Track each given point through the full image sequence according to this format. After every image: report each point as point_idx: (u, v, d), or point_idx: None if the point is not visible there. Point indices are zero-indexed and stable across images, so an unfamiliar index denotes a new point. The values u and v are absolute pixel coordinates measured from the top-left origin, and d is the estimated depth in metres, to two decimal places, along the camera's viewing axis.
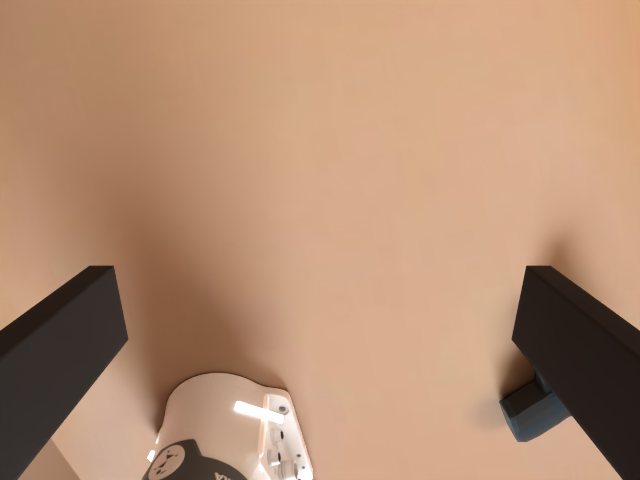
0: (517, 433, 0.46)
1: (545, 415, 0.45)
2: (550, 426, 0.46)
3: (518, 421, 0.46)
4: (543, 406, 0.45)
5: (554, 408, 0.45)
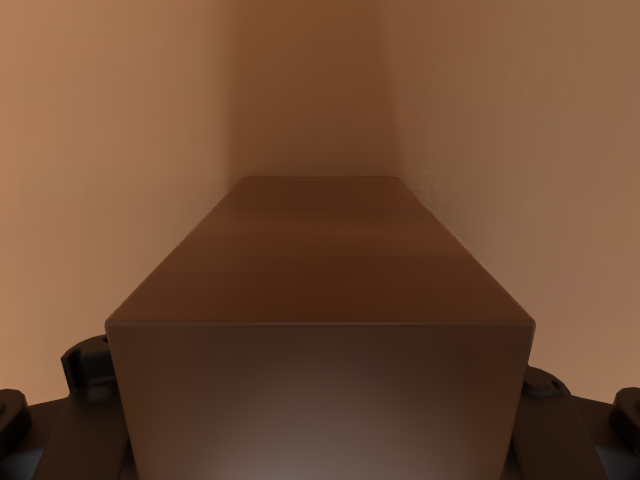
0: None
1: None
2: None
3: None
4: None
5: None
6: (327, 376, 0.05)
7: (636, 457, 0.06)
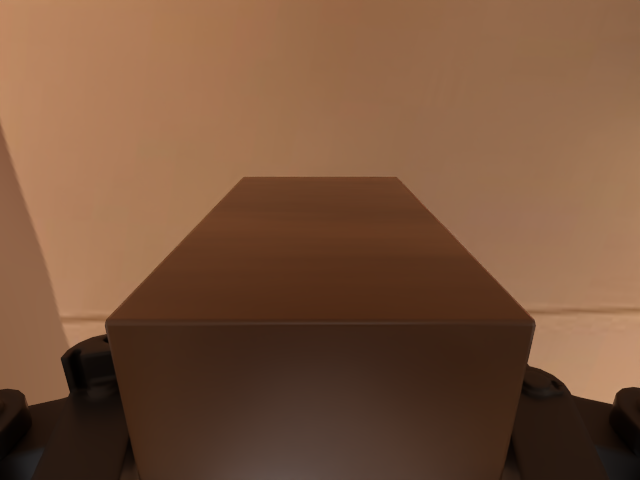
0: None
1: None
2: None
3: None
4: None
5: None
6: (328, 375, 0.05)
7: (636, 457, 0.06)
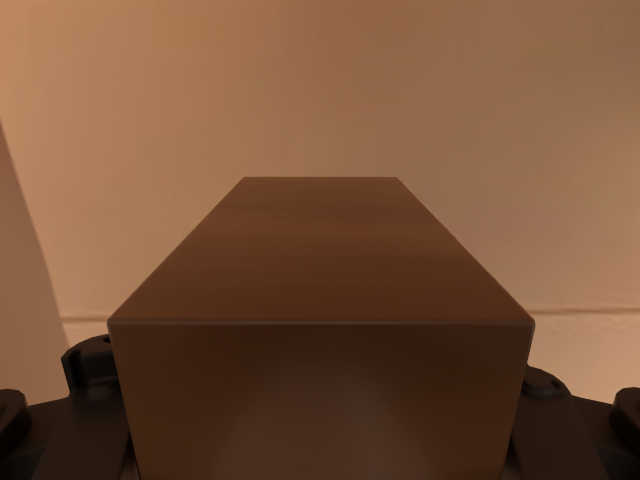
0: None
1: None
2: None
3: None
4: None
5: None
6: (329, 375, 0.05)
7: (636, 457, 0.06)
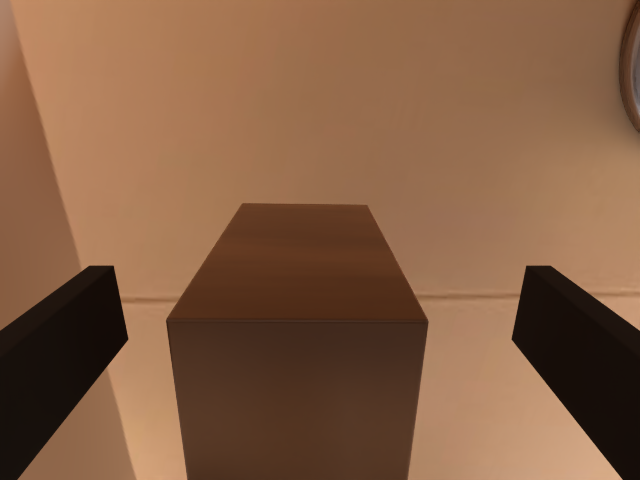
0: None
1: None
2: None
3: None
4: None
5: None
6: (303, 353, 0.08)
7: None
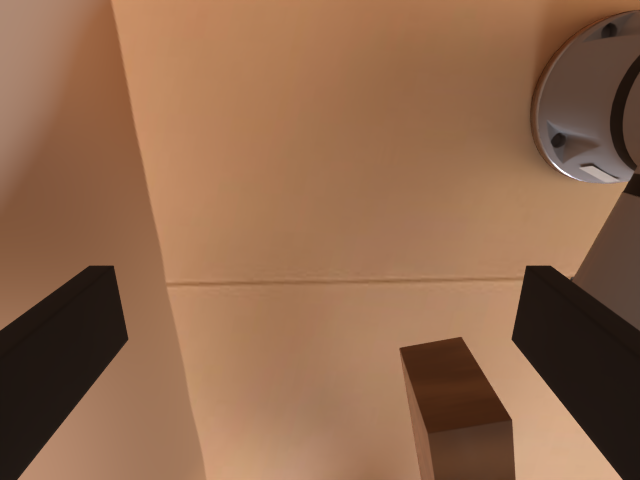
0: None
1: None
2: None
3: None
4: None
5: None
6: (472, 436, 0.25)
7: None
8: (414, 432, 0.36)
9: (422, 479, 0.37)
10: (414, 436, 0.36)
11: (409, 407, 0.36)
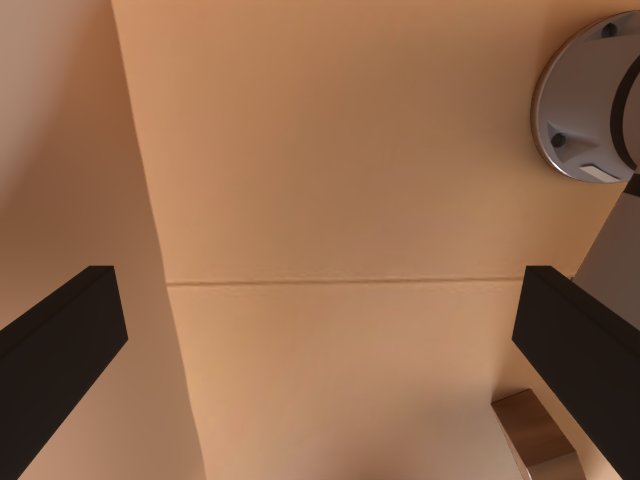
0: None
1: None
2: None
3: None
4: None
5: None
6: (553, 464, 0.42)
7: None
8: (513, 454, 0.52)
9: None
10: None
11: None
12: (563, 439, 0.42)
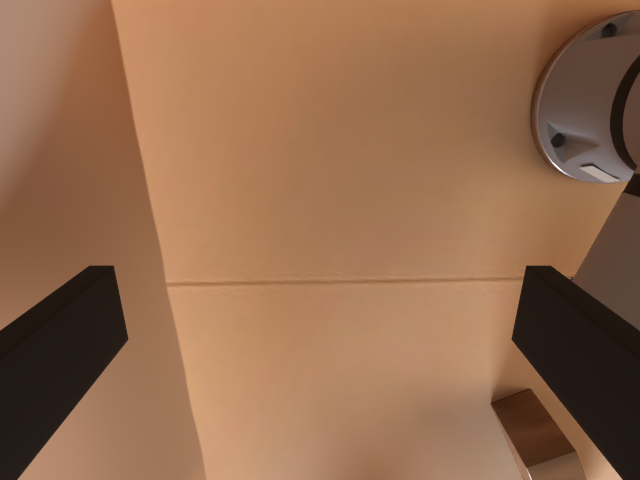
0: None
1: None
2: None
3: None
4: None
5: None
6: (553, 464, 0.42)
7: None
8: (513, 454, 0.52)
9: None
10: None
11: None
12: (563, 439, 0.42)
